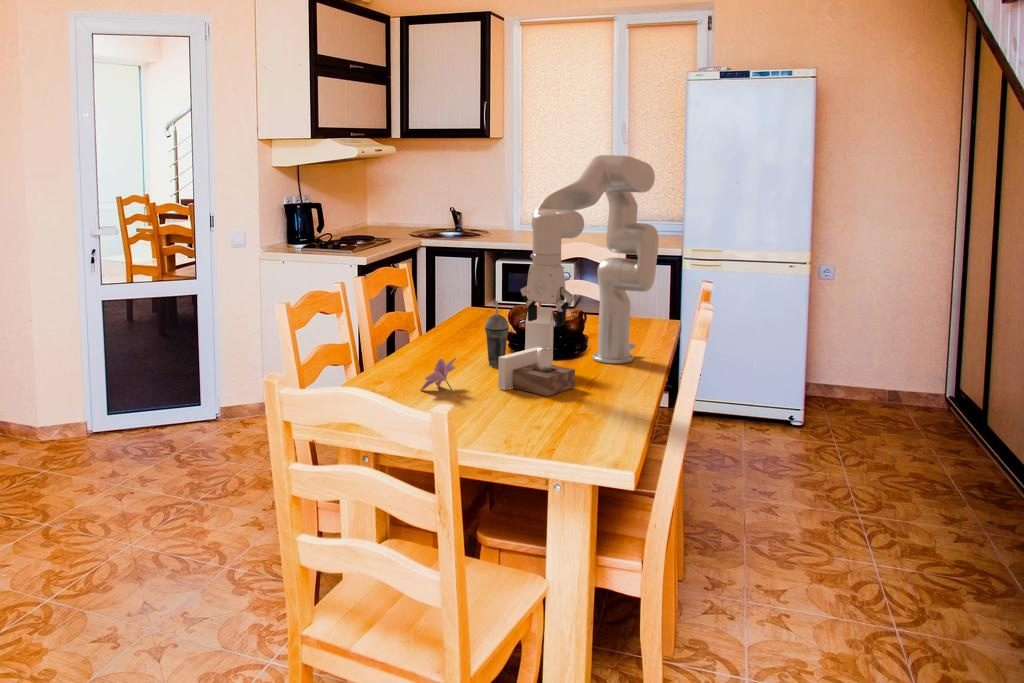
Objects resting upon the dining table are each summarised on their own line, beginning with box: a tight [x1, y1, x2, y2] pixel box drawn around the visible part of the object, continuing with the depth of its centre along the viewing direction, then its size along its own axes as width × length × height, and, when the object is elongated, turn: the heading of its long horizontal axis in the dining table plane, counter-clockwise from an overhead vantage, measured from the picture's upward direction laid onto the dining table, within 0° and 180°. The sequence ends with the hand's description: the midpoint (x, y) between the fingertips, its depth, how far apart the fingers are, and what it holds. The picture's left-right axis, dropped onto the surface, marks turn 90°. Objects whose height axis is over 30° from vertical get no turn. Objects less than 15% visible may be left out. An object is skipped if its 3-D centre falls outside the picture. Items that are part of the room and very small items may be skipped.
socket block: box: [512, 363, 576, 397], centre depth 244 cm, size 12×12×5 cm
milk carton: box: [524, 306, 555, 365], centre depth 261 cm, size 7×7×19 cm
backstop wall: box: [497, 346, 542, 391], centre depth 248 cm, size 18×2×9 cm, turn 140°
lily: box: [420, 357, 458, 394], centre depth 240 cm, size 12×12×10 cm
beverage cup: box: [484, 300, 510, 368], centre depth 266 cm, size 7×7×20 cm
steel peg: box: [537, 346, 552, 373], centre depth 243 cm, size 4×4×10 cm
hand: (546, 322), depth 241 cm, fingers open, 9 cm apart
